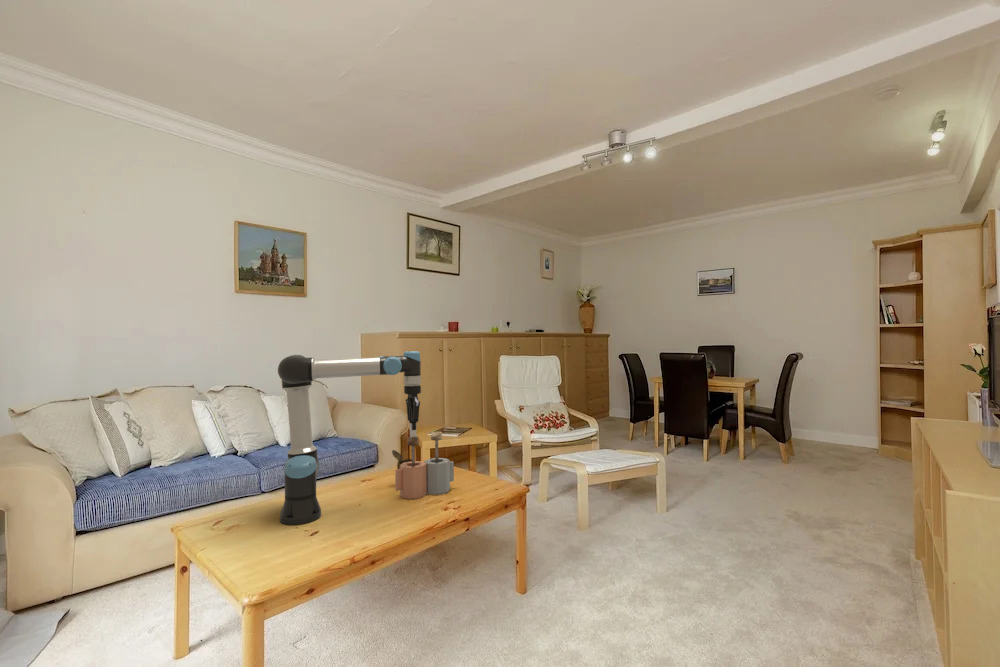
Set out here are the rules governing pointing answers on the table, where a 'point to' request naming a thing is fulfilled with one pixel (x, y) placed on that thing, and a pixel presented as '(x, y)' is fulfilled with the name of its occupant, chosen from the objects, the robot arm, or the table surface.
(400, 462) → the wooden mug
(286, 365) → the robot arm
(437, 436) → the grey plunger
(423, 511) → the table surface
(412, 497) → the pink octagonal mug
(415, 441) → the taupe plunger
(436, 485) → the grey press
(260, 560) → the table surface
